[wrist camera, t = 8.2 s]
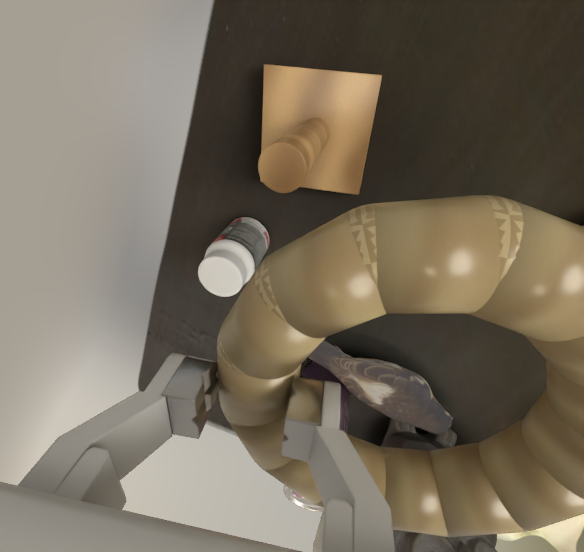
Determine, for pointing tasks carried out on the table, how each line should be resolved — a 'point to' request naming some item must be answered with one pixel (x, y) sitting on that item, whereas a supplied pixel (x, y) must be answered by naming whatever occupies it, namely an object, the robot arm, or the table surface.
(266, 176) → the wooden stand
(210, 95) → the table surface
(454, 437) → the figurine
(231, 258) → the pill bottle
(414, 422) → the decorative bird
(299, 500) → the beverage can
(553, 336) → the ribbed beige ring
